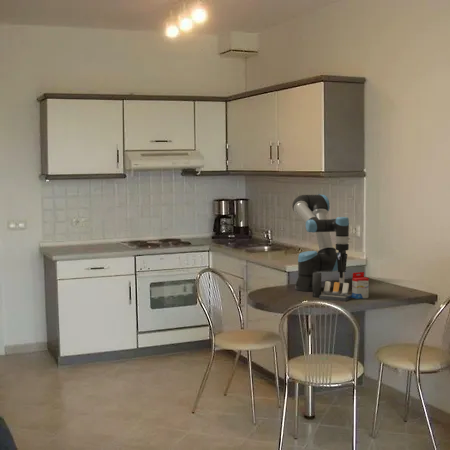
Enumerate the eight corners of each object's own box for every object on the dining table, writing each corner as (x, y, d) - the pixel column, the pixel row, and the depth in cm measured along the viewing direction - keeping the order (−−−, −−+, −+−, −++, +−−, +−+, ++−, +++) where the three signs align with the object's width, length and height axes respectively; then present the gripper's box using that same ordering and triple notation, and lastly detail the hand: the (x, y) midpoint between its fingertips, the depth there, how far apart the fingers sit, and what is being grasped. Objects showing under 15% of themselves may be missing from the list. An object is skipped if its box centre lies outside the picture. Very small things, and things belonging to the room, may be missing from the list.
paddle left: (323, 292, 415) (325, 281, 417) (324, 293, 416) (326, 281, 418) (328, 292, 413) (330, 281, 415) (329, 293, 414) (331, 282, 416)
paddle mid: (332, 293, 412) (334, 281, 414) (333, 293, 413) (335, 282, 415) (337, 293, 411) (339, 282, 412) (338, 294, 412) (340, 283, 414)
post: (311, 297, 417) (311, 273, 416) (314, 295, 421) (314, 272, 420) (319, 297, 415) (319, 274, 413) (322, 296, 419) (322, 272, 418)
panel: (319, 298, 412) (319, 294, 411) (325, 295, 421) (325, 291, 421) (345, 301, 404) (345, 296, 404) (351, 298, 414) (352, 293, 413)
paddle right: (341, 294, 409) (343, 282, 411) (342, 294, 411) (344, 283, 413) (346, 294, 408) (348, 283, 410) (347, 295, 409) (349, 283, 411)
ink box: (356, 299, 410) (357, 274, 409) (351, 297, 415) (351, 272, 413) (368, 297, 414) (369, 272, 413) (363, 296, 418) (363, 271, 417)
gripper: (344, 244, 411) (344, 285, 413) (351, 242, 423) (351, 281, 425) (332, 244, 415) (331, 284, 417) (339, 241, 426) (339, 280, 428)
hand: (341, 282), depth 421 cm, fingers closed
